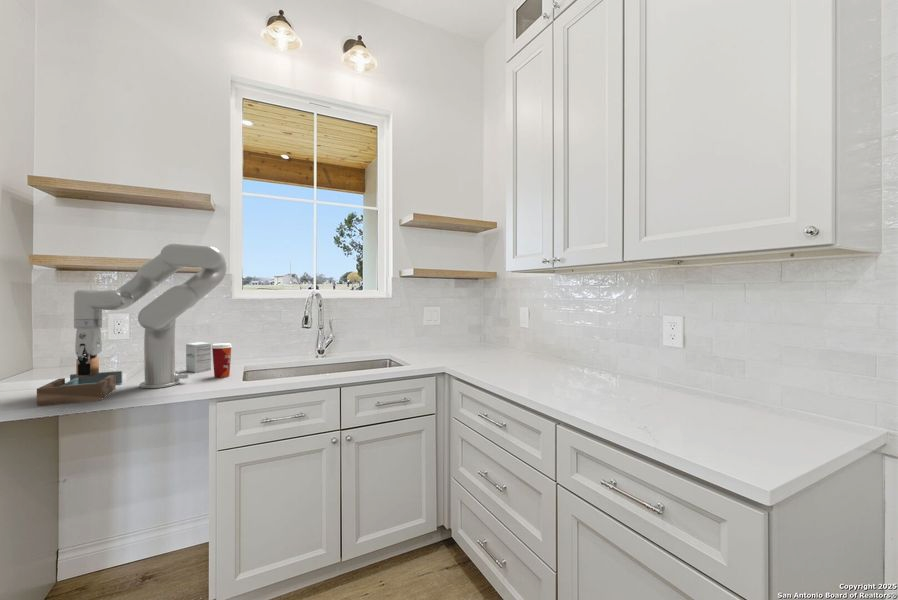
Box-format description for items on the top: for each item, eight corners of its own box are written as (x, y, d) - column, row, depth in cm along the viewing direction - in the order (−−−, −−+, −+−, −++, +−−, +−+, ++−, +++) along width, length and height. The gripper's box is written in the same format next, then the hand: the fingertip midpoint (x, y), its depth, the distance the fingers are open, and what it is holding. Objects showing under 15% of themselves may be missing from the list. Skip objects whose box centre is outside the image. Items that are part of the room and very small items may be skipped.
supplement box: (185, 371, 176) (185, 343, 176) (202, 368, 183) (202, 341, 182) (194, 372, 173) (194, 344, 172) (211, 369, 179) (211, 342, 179)
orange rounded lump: (101, 372, 145) (101, 357, 145) (95, 376, 140) (95, 359, 140) (80, 374, 142) (80, 357, 142) (73, 377, 137) (73, 360, 137)
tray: (71, 386, 145) (71, 374, 145) (122, 383, 152) (122, 370, 152) (53, 396, 132) (52, 383, 132) (109, 392, 139) (109, 378, 139)
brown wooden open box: (59, 394, 137) (58, 378, 136) (115, 389, 144) (115, 374, 143) (37, 406, 123) (36, 388, 123) (100, 400, 130) (100, 383, 130)
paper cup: (231, 377, 164) (231, 344, 164) (210, 379, 161) (210, 345, 161) (232, 373, 171) (232, 342, 171) (212, 375, 168) (212, 343, 168)
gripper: (92, 325, 135) (92, 377, 135) (109, 321, 150) (109, 368, 150) (63, 326, 131) (63, 378, 132) (83, 322, 147) (83, 369, 147)
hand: (87, 372), depth 141 cm, fingers closed on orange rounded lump, 6 cm apart
